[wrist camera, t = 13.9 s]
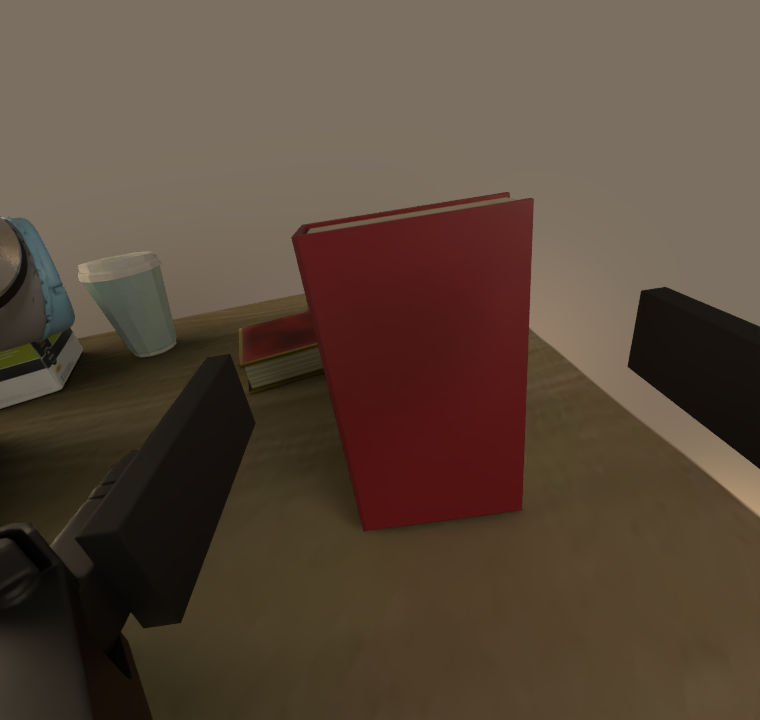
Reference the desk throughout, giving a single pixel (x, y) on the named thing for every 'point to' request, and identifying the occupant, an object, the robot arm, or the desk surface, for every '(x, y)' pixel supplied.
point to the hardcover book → (279, 352)
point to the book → (426, 353)
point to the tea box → (37, 367)
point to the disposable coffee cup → (132, 300)
